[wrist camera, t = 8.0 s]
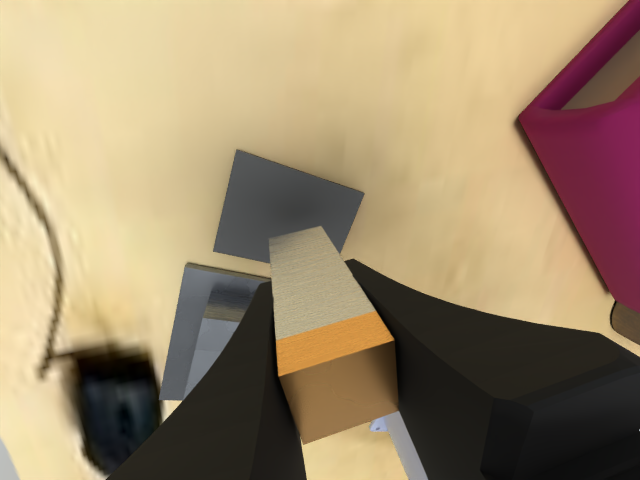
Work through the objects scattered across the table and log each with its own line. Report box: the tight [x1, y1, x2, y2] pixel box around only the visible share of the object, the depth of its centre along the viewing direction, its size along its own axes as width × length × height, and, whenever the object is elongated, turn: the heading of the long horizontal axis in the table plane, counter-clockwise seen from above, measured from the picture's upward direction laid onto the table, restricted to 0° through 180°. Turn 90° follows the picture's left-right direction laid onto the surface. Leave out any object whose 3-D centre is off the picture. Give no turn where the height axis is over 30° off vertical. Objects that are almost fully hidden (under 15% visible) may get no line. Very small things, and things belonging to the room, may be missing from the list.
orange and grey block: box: [269, 226, 399, 445], centre depth 9 cm, size 3×3×8 cm
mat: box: [213, 150, 364, 263], centre depth 18 cm, size 9×7×1 cm
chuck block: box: [159, 263, 272, 400], centre depth 20 cm, size 14×13×4 cm
